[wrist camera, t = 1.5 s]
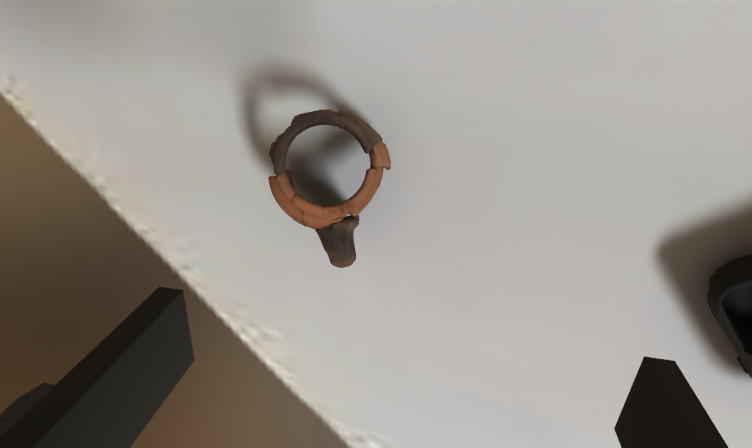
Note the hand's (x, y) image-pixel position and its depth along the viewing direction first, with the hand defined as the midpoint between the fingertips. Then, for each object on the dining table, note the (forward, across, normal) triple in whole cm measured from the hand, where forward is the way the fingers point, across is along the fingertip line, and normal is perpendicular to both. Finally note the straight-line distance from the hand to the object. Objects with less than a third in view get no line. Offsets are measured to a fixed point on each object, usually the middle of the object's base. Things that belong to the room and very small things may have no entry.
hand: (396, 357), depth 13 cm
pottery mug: (+22, -8, -4) cm, 23 cm away
